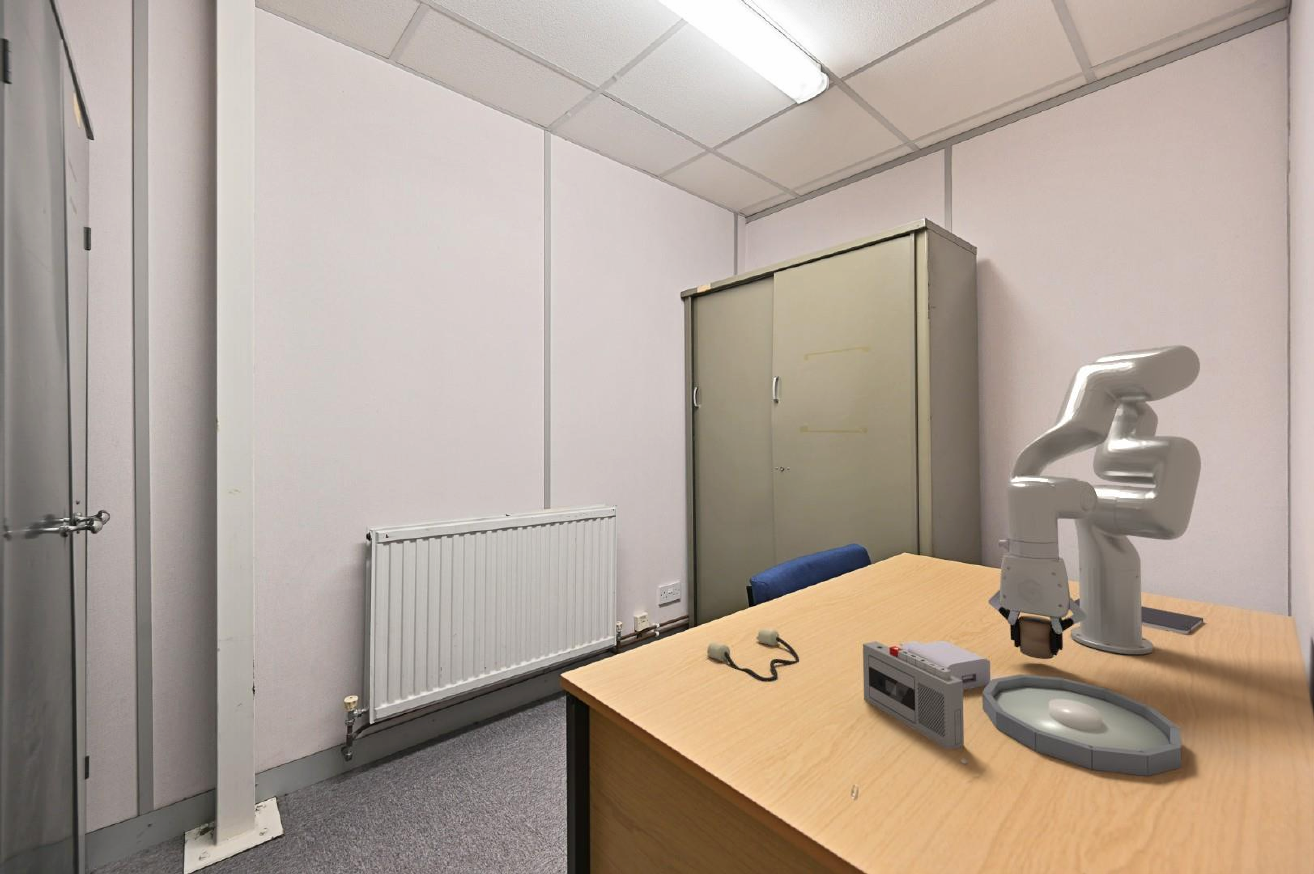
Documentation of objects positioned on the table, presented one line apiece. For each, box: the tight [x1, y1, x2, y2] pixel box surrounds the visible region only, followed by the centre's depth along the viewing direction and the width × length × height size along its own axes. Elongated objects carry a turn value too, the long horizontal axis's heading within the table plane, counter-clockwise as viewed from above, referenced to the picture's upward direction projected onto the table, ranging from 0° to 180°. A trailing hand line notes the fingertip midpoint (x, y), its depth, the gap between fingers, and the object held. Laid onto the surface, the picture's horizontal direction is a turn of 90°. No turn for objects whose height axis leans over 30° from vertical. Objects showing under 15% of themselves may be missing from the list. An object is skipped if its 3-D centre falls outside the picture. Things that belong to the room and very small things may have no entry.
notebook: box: [1069, 597, 1204, 635], centre depth 124 cm, size 13×2×21 cm
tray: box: [981, 673, 1182, 777], centre depth 78 cm, size 22×22×2 cm
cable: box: [706, 627, 800, 683], centre depth 103 cm, size 16×16×4 cm
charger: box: [898, 640, 991, 691], centre depth 97 cm, size 5×9×15 cm
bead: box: [1018, 615, 1055, 660], centre depth 98 cm, size 5×5×6 cm
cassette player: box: [862, 641, 965, 751], centre depth 80 cm, size 16×3×10 cm, turn 23°
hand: (1036, 647), depth 98 cm, fingers closed on bead, 4 cm apart
